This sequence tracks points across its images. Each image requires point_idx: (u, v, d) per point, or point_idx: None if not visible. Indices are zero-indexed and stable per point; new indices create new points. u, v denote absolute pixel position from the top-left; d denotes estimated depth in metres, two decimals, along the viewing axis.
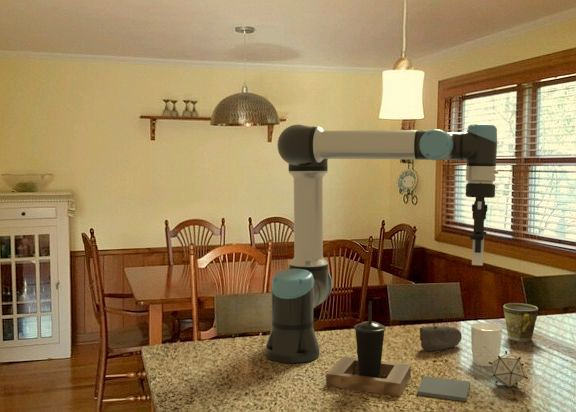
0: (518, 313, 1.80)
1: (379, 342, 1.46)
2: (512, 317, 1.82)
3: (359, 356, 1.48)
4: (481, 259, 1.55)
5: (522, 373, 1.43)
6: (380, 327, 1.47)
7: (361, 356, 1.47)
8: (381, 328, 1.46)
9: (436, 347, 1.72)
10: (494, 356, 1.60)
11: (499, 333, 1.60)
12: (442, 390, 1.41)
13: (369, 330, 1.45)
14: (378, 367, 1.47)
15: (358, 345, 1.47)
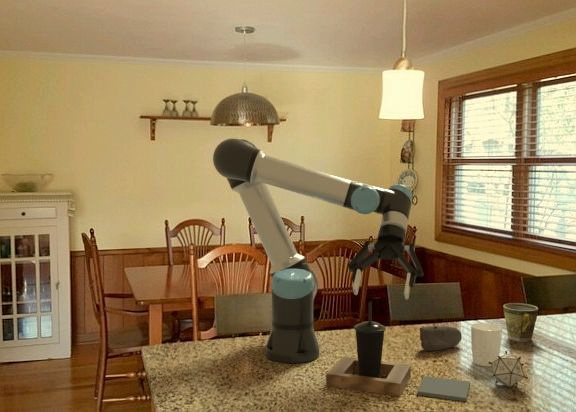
0: (518, 313, 1.80)
1: (379, 342, 1.46)
2: (512, 317, 1.82)
3: (359, 356, 1.48)
4: (408, 293, 1.57)
5: (522, 373, 1.43)
6: (380, 327, 1.47)
7: (361, 356, 1.47)
8: (381, 328, 1.46)
9: (436, 347, 1.72)
10: (494, 356, 1.60)
11: (499, 333, 1.60)
12: (442, 390, 1.41)
13: (369, 330, 1.45)
14: (378, 367, 1.47)
15: (358, 345, 1.47)
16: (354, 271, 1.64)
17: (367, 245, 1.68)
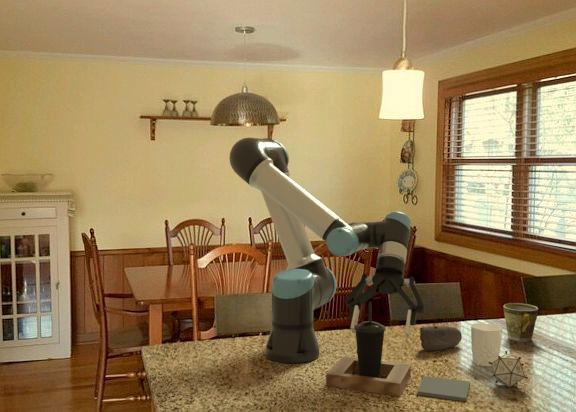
0: (518, 313, 1.80)
1: (379, 342, 1.46)
2: (512, 317, 1.82)
3: (359, 356, 1.48)
4: (409, 332, 1.49)
5: (522, 373, 1.43)
6: (380, 327, 1.47)
7: (361, 356, 1.47)
8: (381, 328, 1.46)
9: (436, 347, 1.72)
10: (494, 356, 1.60)
11: (499, 333, 1.60)
12: (442, 390, 1.41)
13: (369, 330, 1.45)
14: (378, 367, 1.47)
15: (358, 345, 1.47)
16: (352, 307, 1.55)
17: (365, 278, 1.59)
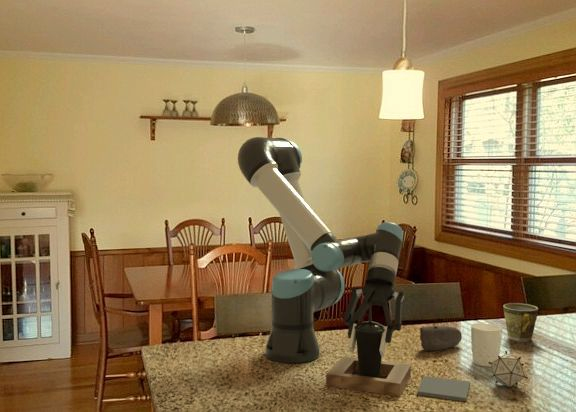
0: (518, 313, 1.80)
1: (380, 342, 1.46)
2: (512, 317, 1.82)
3: (359, 356, 1.48)
4: None
5: (522, 373, 1.43)
6: (380, 327, 1.47)
7: (361, 356, 1.47)
8: (381, 328, 1.46)
9: (436, 347, 1.72)
10: (494, 356, 1.60)
11: (499, 333, 1.60)
12: (442, 390, 1.41)
13: (369, 330, 1.45)
14: (378, 367, 1.47)
15: (358, 345, 1.47)
16: (350, 325, 1.50)
17: (355, 292, 1.56)
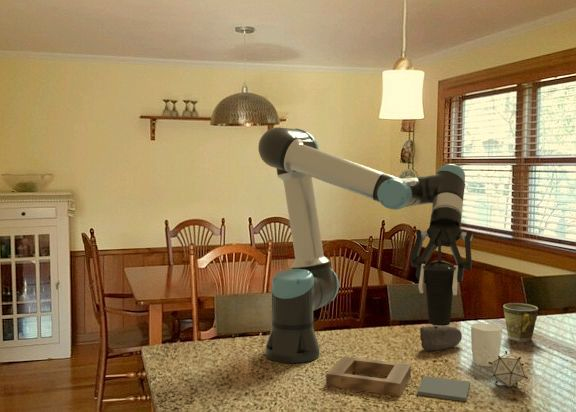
0: (518, 313, 1.80)
1: (451, 281, 1.39)
2: (512, 317, 1.82)
3: (429, 296, 1.41)
4: None
5: (522, 373, 1.43)
6: (451, 265, 1.40)
7: (432, 297, 1.40)
8: (452, 266, 1.40)
9: (436, 347, 1.72)
10: (494, 356, 1.60)
11: (499, 333, 1.60)
12: (442, 390, 1.41)
13: (440, 268, 1.38)
14: (449, 308, 1.40)
15: (428, 285, 1.41)
16: (418, 266, 1.44)
17: (420, 234, 1.50)
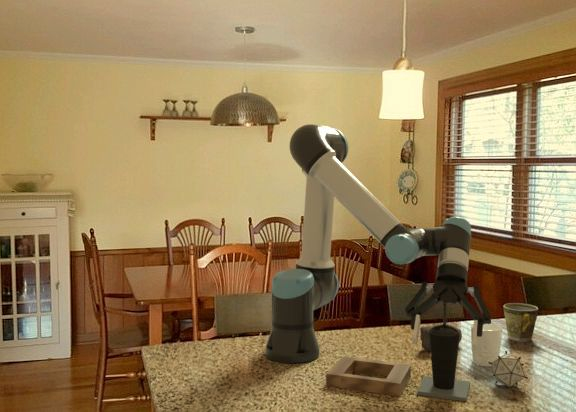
0: (518, 313, 1.80)
1: (456, 346, 1.40)
2: (512, 317, 1.82)
3: (434, 360, 1.42)
4: (476, 343, 1.40)
5: (522, 373, 1.43)
6: (456, 330, 1.41)
7: (436, 361, 1.41)
8: (457, 331, 1.41)
9: None
10: (494, 356, 1.60)
11: (499, 333, 1.60)
12: (442, 390, 1.41)
13: (445, 333, 1.39)
14: (454, 372, 1.42)
15: (433, 349, 1.42)
16: (412, 316, 1.47)
17: (425, 286, 1.51)
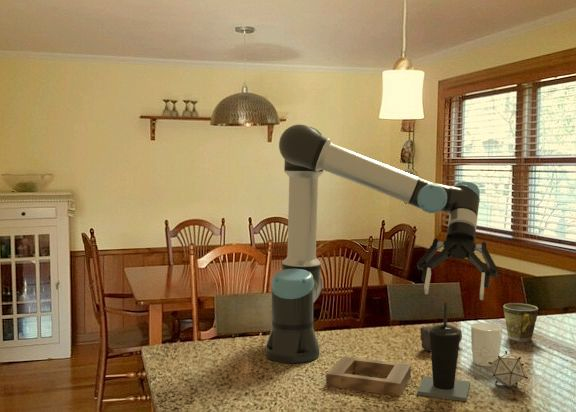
0: (518, 313, 1.80)
1: (456, 346, 1.41)
2: (512, 317, 1.82)
3: (434, 360, 1.42)
4: (483, 294, 1.51)
5: (522, 373, 1.43)
6: (456, 330, 1.41)
7: (437, 360, 1.41)
8: (457, 331, 1.41)
9: None
10: (494, 356, 1.60)
11: (499, 333, 1.60)
12: (442, 390, 1.41)
13: (446, 333, 1.40)
14: (454, 372, 1.42)
15: (433, 349, 1.42)
16: (424, 269, 1.58)
17: (436, 243, 1.62)
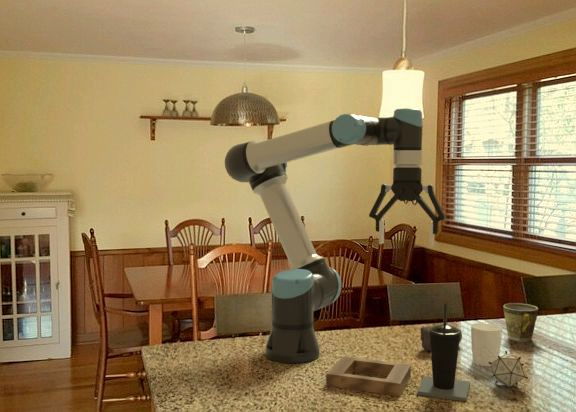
0: (518, 313, 1.80)
1: (456, 346, 1.41)
2: (512, 317, 1.82)
3: (434, 360, 1.42)
4: (433, 240, 1.62)
5: (522, 373, 1.43)
6: (456, 330, 1.41)
7: (437, 360, 1.41)
8: (457, 331, 1.41)
9: None
10: (494, 356, 1.60)
11: (499, 333, 1.60)
12: (442, 390, 1.41)
13: (446, 333, 1.40)
14: (454, 372, 1.42)
15: (433, 349, 1.42)
16: (376, 221, 1.66)
17: (384, 190, 1.64)
